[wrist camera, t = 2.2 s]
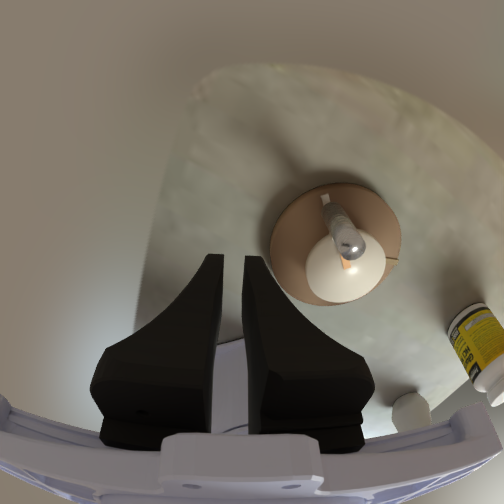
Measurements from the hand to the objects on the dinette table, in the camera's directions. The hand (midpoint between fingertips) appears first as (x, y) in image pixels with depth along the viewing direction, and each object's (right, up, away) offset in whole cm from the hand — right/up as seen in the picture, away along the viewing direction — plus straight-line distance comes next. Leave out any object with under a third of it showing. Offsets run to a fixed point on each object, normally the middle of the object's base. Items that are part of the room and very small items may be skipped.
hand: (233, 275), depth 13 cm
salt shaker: (+23, -21, +25) cm, 40 cm away
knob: (+7, +1, +8) cm, 10 cm away
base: (+7, +1, +11) cm, 13 cm away
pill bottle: (+26, -7, +17) cm, 32 cm away
